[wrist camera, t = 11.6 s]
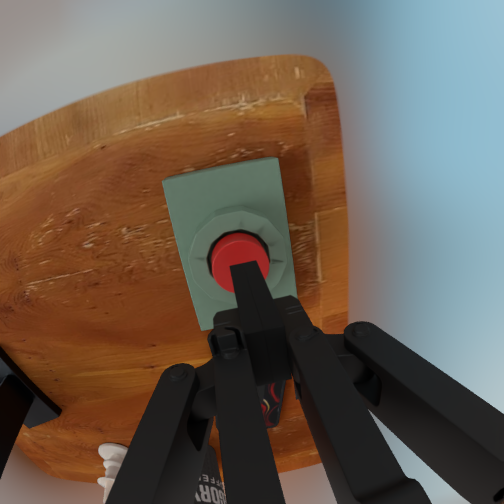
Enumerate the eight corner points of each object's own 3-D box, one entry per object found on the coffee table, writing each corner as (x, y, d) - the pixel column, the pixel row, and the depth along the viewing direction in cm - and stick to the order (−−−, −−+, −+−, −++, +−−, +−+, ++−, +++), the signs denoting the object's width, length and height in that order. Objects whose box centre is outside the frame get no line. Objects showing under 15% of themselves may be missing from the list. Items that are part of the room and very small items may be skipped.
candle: (105, 461, 32) (96, 520, 22) (93, 440, 30) (79, 505, 21) (140, 464, 33) (135, 526, 23) (130, 444, 31) (122, 512, 21)
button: (206, 238, 20) (206, 247, 19) (260, 227, 21) (264, 235, 19) (217, 287, 22) (218, 299, 20) (268, 276, 22) (273, 287, 20)
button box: (165, 177, 22) (157, 184, 18) (271, 156, 23) (284, 159, 19) (201, 317, 26) (201, 344, 22) (292, 297, 27) (305, 321, 23)
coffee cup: (225, 470, 35) (239, 561, 21) (157, 468, 33) (155, 560, 19) (229, 432, 32) (246, 544, 18) (148, 430, 30) (140, 541, 16)
